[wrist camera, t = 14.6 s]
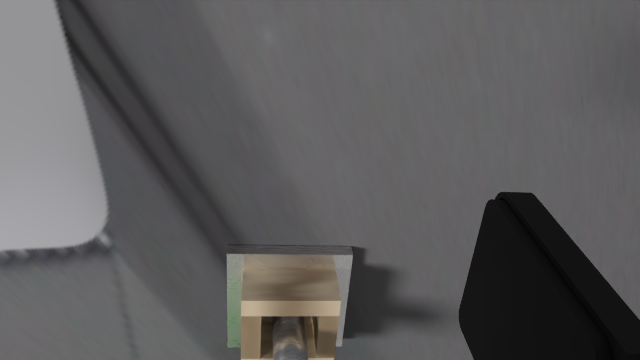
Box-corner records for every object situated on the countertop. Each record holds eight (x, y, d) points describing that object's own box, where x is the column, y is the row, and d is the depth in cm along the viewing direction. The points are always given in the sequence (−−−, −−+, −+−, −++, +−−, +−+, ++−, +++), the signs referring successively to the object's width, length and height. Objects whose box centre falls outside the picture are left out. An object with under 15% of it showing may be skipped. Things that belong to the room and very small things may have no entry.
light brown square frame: (335, 267, 45) (341, 300, 41) (328, 335, 48) (332, 371, 45) (243, 267, 44) (241, 300, 40) (242, 335, 47) (240, 372, 44)
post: (351, 246, 45) (376, 360, 34) (340, 336, 50) (359, 461, 39) (227, 244, 44) (215, 362, 33) (228, 337, 49) (217, 465, 38)
